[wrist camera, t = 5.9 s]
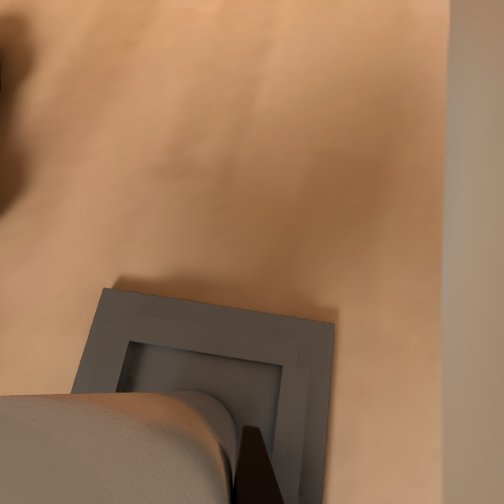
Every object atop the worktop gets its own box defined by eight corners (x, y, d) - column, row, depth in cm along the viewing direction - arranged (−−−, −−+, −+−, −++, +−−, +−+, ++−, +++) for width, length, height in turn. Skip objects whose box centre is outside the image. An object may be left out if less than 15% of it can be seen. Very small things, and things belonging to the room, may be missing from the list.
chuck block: (309, 618, 15) (321, 658, 12) (24, 567, 15) (-12, 597, 13) (330, 326, 19) (342, 318, 17) (108, 291, 19) (92, 279, 17)
